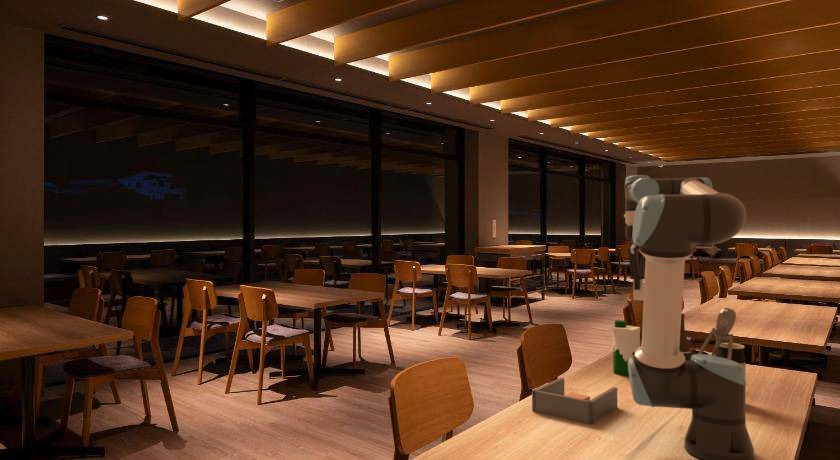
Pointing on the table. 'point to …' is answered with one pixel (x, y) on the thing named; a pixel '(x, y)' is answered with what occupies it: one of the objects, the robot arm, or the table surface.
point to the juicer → (722, 331)
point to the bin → (572, 403)
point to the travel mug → (733, 353)
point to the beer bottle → (684, 341)
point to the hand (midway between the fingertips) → (638, 299)
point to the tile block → (578, 396)
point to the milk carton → (624, 346)
